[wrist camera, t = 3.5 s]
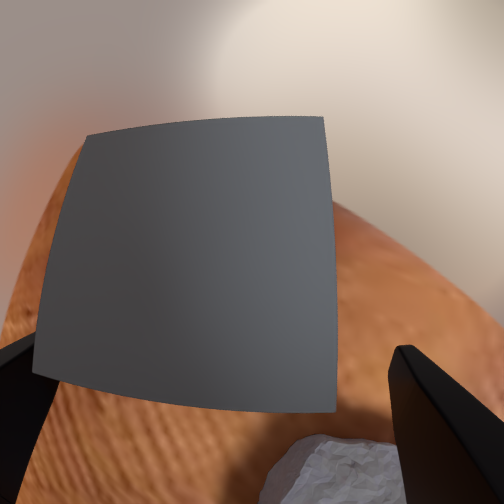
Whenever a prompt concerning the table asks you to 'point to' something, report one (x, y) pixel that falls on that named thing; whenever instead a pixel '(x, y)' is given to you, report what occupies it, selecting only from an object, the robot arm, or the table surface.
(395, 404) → the robot arm
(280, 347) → the pillar
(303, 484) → the stone block
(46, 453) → the table surface
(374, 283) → the table surface
